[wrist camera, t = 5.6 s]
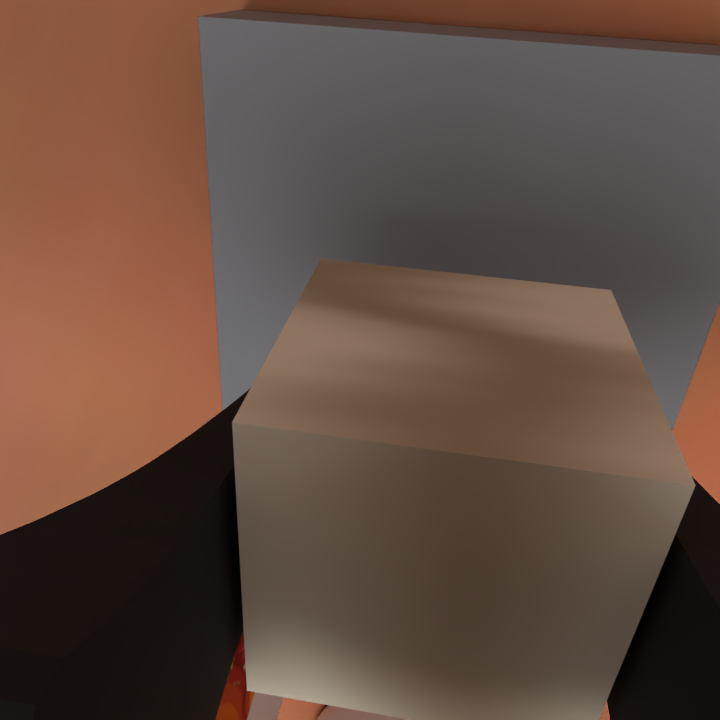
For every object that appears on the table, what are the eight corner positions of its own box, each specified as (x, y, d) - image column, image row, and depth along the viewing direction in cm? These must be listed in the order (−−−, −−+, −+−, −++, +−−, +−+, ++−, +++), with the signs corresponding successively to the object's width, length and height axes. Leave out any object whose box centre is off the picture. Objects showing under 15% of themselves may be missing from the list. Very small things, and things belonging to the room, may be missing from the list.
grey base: (254, 409, 22) (225, 465, 20) (242, 9, 16) (198, 16, 14) (617, 458, 21) (636, 524, 19) (752, 47, 15) (809, 62, 12)
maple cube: (315, 475, 14) (246, 691, 10) (320, 258, 12) (232, 422, 7) (551, 509, 14) (586, 751, 9) (610, 289, 11) (695, 485, 7)
